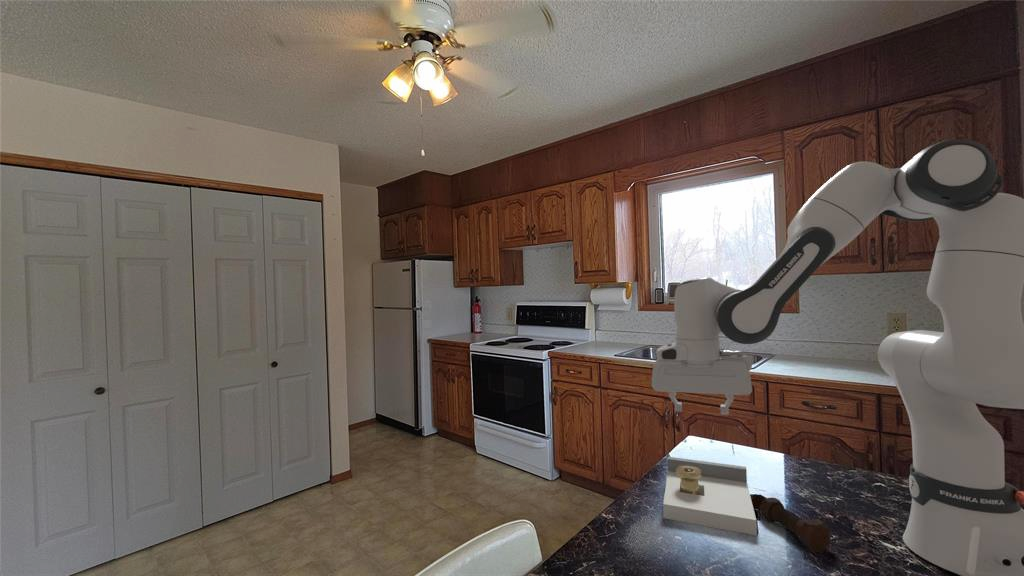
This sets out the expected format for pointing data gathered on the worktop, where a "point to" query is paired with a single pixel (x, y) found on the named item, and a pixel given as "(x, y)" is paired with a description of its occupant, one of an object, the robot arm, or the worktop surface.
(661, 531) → the worktop surface
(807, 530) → the bolt
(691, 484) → the bushing
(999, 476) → the robot arm
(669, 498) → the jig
